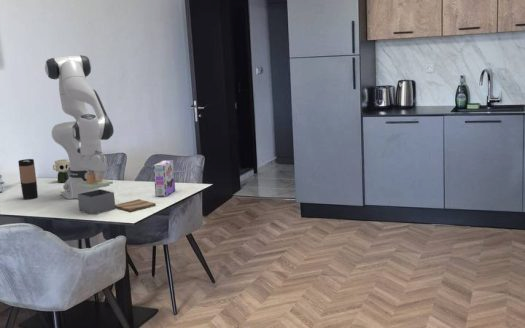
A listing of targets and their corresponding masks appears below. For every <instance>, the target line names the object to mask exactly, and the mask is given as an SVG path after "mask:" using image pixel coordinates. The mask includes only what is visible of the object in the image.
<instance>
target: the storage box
mask: <svg viewBox="0 0 525 328" xmlns="http://www.w3.org/2000/svg"><path fill="white" fill-rule="evenodd" d="M77 200H78V201H77V202H78V210H79V211H80V212H82V213H86V214H87V215H88V214H89V215H92V216H93V215H96V214H100V213H104V212H109V211H113V210H116V208H115V205H116V202H115V200H116V199H115V192H114V191H109V190H106V189H100V188H99V190H94V191H90V192H85V193H80V194H78V198H77Z"/></svg>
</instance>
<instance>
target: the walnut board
mask: <svg viewBox="0 0 525 328" xmlns="http://www.w3.org/2000/svg"><path fill="white" fill-rule="evenodd" d="M156 206H157V205H156V203H155V202H151V201H147V200H145V199H144V200H143V199H139V198H138V199H135V200H130V201H126V202H122V203H117V204H115V209H117V210H121V211H125V212H128V213H132V212H136V211H140V210H144V209H145V210H146V209H148V208H152V207H156Z"/></svg>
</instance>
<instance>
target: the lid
mask: <svg viewBox="0 0 525 328" xmlns="http://www.w3.org/2000/svg"><path fill="white" fill-rule="evenodd" d="M94 176H95V173H91V174H86V177H87V181H83V182H78V183H76V184H77V185H79V186H80V187H83V188H86V189H90V190H92V189H96V188H99V189H100V188H106V187H109V186H110V185H112V184H114V182H113V180H108V179H104V178H102V177H103V175H102V172H100V175H99V180H94Z"/></svg>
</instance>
